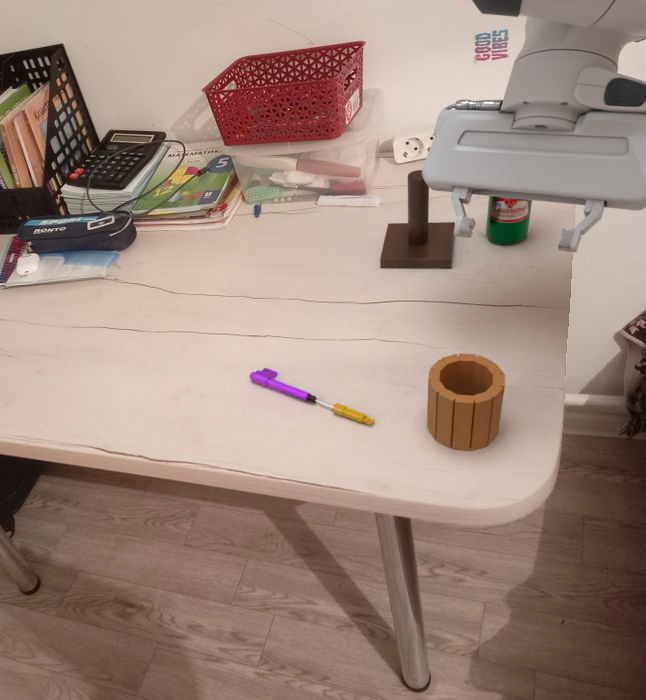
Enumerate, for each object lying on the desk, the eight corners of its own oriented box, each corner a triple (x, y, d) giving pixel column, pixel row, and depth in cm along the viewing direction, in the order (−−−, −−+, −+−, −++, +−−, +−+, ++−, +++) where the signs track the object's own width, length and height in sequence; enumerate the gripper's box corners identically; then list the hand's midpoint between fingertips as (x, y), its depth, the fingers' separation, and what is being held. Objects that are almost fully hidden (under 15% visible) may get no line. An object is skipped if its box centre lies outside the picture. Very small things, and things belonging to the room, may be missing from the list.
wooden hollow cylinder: (498, 404, 64) (504, 355, 60) (497, 454, 60) (504, 406, 56) (430, 398, 67) (431, 351, 63) (425, 445, 63) (426, 399, 58)
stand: (454, 230, 88) (458, 155, 81) (450, 268, 82) (454, 191, 75) (388, 231, 92) (386, 160, 84) (380, 268, 86) (377, 194, 79)
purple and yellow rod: (248, 381, 76) (369, 429, 66) (247, 373, 75) (370, 420, 65) (260, 371, 77) (381, 417, 68) (260, 363, 77) (382, 408, 67)
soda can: (484, 246, 84) (492, 165, 76) (486, 226, 87) (493, 146, 79) (527, 246, 82) (539, 163, 74) (527, 225, 85) (538, 143, 77)
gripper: (435, 87, 63) (398, 221, 64) (688, 88, 51) (636, 253, 52) (449, 110, 68) (414, 234, 69) (681, 117, 56) (634, 266, 57)
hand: (512, 243), depth 61 cm, fingers open, 8 cm apart
